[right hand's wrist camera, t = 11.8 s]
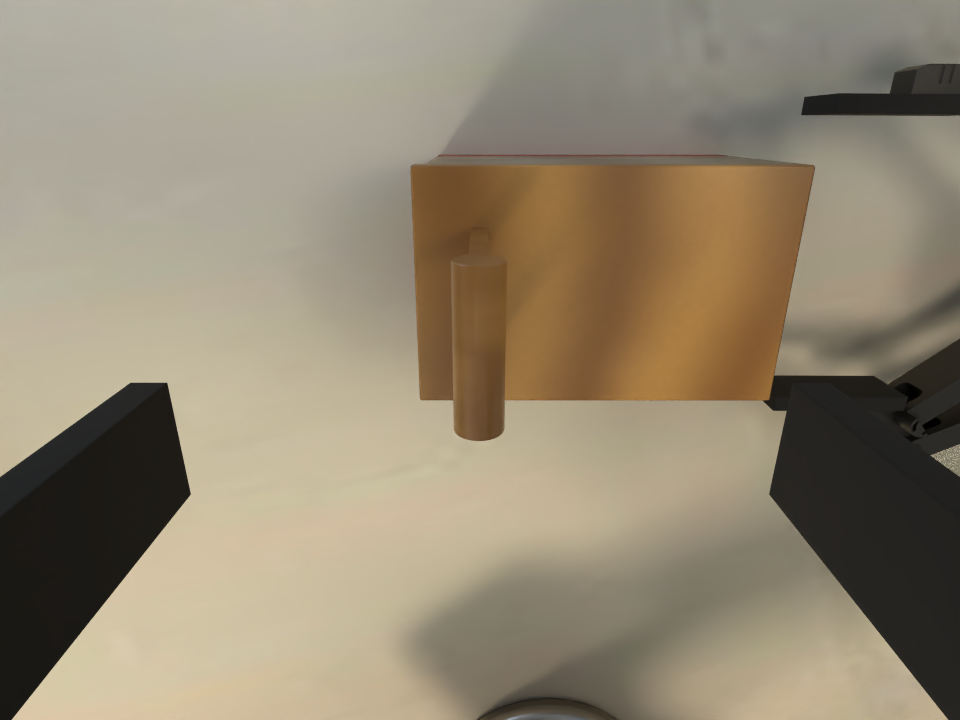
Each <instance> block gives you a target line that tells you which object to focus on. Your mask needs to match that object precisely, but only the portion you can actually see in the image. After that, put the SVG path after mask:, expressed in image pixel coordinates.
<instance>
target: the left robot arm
mask: <svg viewBox="0 0 960 720" xmlns="http://www.w3.org/2000/svg"><path fill="white" fill-rule="evenodd" d="M801 115H896V116H951V115H960V64H927V65H920V66H913V67H907V68H905V69H902V70H900V71H897V72H895V74H894V78H893V82H892V86H891V91H890V94H851V93H838V94H829V95H819V96H809V97H805V98H804V103H803V108H802V114H801ZM793 383H830V384H832V385H833V386H834V387H836V388H837V389H839V390H840V391H841V392H843V393H844V394H845V395H847V396H848V397H850V398H851V399H852V400H854V401H855V402H857V403H858V404H859V405H861V406H862V407H863V408H865V409H866V410H868V411H869V412H870V413H872V414H873V415H874V416H876V417H877V418H879V419H880V420H881V421H883V422H884V423H886V424H887V425H888V426H890V427H891V428H892V429H894V430H895V431H897V432H898V433H899V434H901V435H902V436H904V437H905V438H906V439H908V440H909V441H910V442H912V443H913V444H915V445H916V446H917V447H919V448H920V449H922V450H923V451H924V452H926V453H927V454H928V455H932V454H935V453H937V452H940V451H942V450H945V449H948V448H950V447H953V446H956V445H958V444H960V339H959V340H957V341H956V342H954V343H953V344H951V345H949V346H948V347H946V348H945V349H943V350H942V351H940V352H938V353H937V354H935V355H934V356H932V357H931V358H929V359H927V360H926V361H924V362H923V363H921V364H920V365H918V366H916V367H915V368H913V369H912V370H910V371H909V372H907V373H905V374H904V375H902V376H901V377H899V378H897V379H896V380H894V381H893V382H891V383H890V384H888V385H887V384H886V383H884V382H883V381H881V380H879V379H878V378H876V377H875V376H774V377H773V382H772V388H771V393H770V398H769V400H763V401H764V402H765V403H766V404H767V405H768V406H769V407H770V408H771V409H772V410H773V411H787V408H788V403H789V399H790V394H791V389H792V384H793ZM480 720H615V719H614V718H613V717H611V716H610V715H608V714H606V713H605V712H603V711H601V710H599V709H596V708H594V707H591V706H589V705H586V704H582V703H578V702H573V701H568V700H559V699H539V700H530V701H524V702H519V703H515V704H511V705H508V706H505V707H502V708H500V709H498V710H495V711H493V712H491V713H490V714H488V715H486V716H484V717H483V718H481V719H480Z"/></svg>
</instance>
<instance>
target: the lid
mask: <svg viewBox="0 0 960 720" xmlns="http://www.w3.org/2000/svg"><path fill="white" fill-rule="evenodd" d="M814 170H815V166H813V165H806V164H414V165H412V166H411V191H412V216H413V240H414V264H415V289H416V313H417V338H418V362H419V386H420V399H421V400H453V404H454V431H455V433H456V434H457V435H458V436H460V437H462V438H464V439H468V440H473V441H485V440H491V439H494V438H496V437H498V436H500V435H501V434H502V433H503V431H504V415H505V400H769V398H770V393H771V388H772V382H773V377H774V372H775V367H776V362H777V357H778V352H779V347H780V342H781V337H782V332H783V327H784V322H785V317H786V312H787V307H788V302H789V296H790V291H791V286H792V281H793V276H794V271H795V266H796V261H797V256H798V251H799V246H800V241H801V236H802V231H803V226H804V221H805V215H806V210H807V205H808V200H809V195H810V190H811V185H812V180H813V175H814Z"/></svg>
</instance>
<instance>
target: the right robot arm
mask: <svg viewBox="0 0 960 720" xmlns="http://www.w3.org/2000/svg"><path fill="white" fill-rule="evenodd" d="M190 495H191V493H190V488H189V484H188V479H187V474H186V470H185V465H184V460H183V455H182V451H181V446H180V441H179V436H178V432H177V427H176V422H175V417H174V413H173V408H172V403H171V399H170V394H169V389H168V384H167V383H130V384H128V385H127V386H126V387H124V388H123V389H121V390H120V391H119V392H117V393H116V394H115V395H113V396H112V397H110V398H109V399H108V400H106V401H105V402H103V403H102V404H101V405H99V406H98V407H97V408H95V409H94V410H92V411H91V412H90V413H88V414H87V415H86V416H84V417H83V418H81V419H80V420H79V421H77V422H76V423H74V424H73V425H72V426H70V427H69V428H68V429H66V430H65V431H63V432H62V433H61V434H59V435H58V436H56V437H55V438H54V439H52V440H51V441H50V442H48V443H47V444H45V445H44V446H43V447H41V448H40V449H38V450H37V451H36V452H34V453H33V454H32V455H30V456H29V457H27V458H26V459H25V460H23V461H22V462H20V463H19V464H18V465H16V466H15V467H14V468H12V469H11V470H9V471H8V472H7V473H5V474H4V475H2V476H1V477H0V720H12V719H13V717H14V716H15V715H16V714H17V712H18V711H19V710H20V708H21V707H22V706H23V705H24V703H25V702H26V701H27V700H28V698H29V697H30V696H31V695H32V693H33V692H34V691H35V690H36V688H37V687H38V686H39V685H40V683H41V682H42V681H43V680H44V678H45V677H46V676H47V675H48V673H49V672H50V671H51V669H52V668H53V667H54V666H55V664H56V663H57V662H58V661H59V659H60V658H61V657H62V656H63V654H64V653H65V652H66V651H67V649H68V648H69V647H70V646H71V644H72V643H73V642H74V641H75V639H76V638H77V637H78V636H79V634H80V633H81V632H82V630H83V629H84V628H85V627H86V625H87V624H88V623H89V622H90V620H91V619H92V618H93V617H94V615H95V614H96V613H97V612H98V610H99V609H100V608H101V607H102V605H103V604H104V603H105V602H106V600H107V599H108V598H109V597H110V595H111V594H112V593H113V591H114V590H115V589H116V588H117V586H118V585H119V584H120V583H121V581H122V580H123V579H124V578H125V576H126V575H127V574H128V573H129V571H130V570H131V569H132V568H133V566H134V565H135V564H136V563H137V561H138V560H139V559H140V558H141V556H142V555H143V554H144V552H145V551H146V550H147V549H148V547H149V546H150V545H151V544H152V542H153V541H154V540H155V539H156V537H157V536H158V535H159V534H160V532H161V531H162V530H163V529H164V527H165V526H166V525H167V524H168V522H169V521H170V520H171V519H172V517H173V516H174V515H175V513H176V512H177V511H178V510H179V508H180V507H181V506H182V505H183V503H184V502H185V501H186V500H187V498H188V497H189V496H190ZM769 495H770V496H771V497H772V498H773V500H774V501H775V502H776V503H777V505H778V506H779V507H780V508H781V510H782V511H783V512H784V513H785V515H786V516H787V517H788V519H789V520H790V521H791V522H792V524H793V525H794V526H795V527H796V529H797V530H798V531H799V532H800V534H801V535H802V536H803V537H804V539H805V540H806V541H807V542H808V544H809V545H810V546H811V547H812V549H813V550H814V551H815V552H816V554H817V555H818V556H819V558H820V559H821V560H822V561H823V563H824V564H825V565H826V566H827V568H828V569H829V570H830V571H831V573H832V574H833V575H834V576H835V578H836V579H837V580H838V581H839V583H840V584H841V585H842V586H843V588H844V589H845V590H846V591H847V593H848V594H849V595H850V597H851V598H852V599H853V600H854V602H855V603H856V604H857V605H858V607H859V608H860V609H861V610H862V612H863V613H864V614H865V615H866V617H867V618H868V619H869V620H870V622H871V623H872V624H873V625H874V627H875V628H876V629H877V630H878V632H879V633H880V634H881V636H882V637H883V638H884V639H885V641H886V642H887V643H888V644H889V646H890V647H891V648H892V649H893V651H894V652H895V653H896V654H897V656H898V657H899V658H900V659H901V661H902V662H903V663H904V664H905V666H906V667H907V668H908V669H909V671H910V672H911V673H912V675H913V676H914V677H915V678H916V680H917V681H918V682H919V683H920V685H921V686H922V687H923V688H924V690H925V691H926V692H927V693H928V695H929V696H930V697H931V698H932V700H933V701H934V702H935V703H936V705H937V706H938V707H939V708H940V710H941V711H942V712H943V714H944V715H945V716H946V717H947V719H948V720H960V477H959V476H958V475H956V474H955V473H953V472H952V471H951V470H949V469H948V468H946V467H945V466H944V465H942V464H941V463H940V462H938V461H937V460H935V459H934V458H933V457H931V456H930V455H928V454H927V453H926V452H924V451H923V450H922V449H920V448H919V447H917V446H916V445H915V444H913V443H912V442H910V441H909V440H908V439H906V438H905V437H904V436H902V435H901V434H899V433H898V432H897V431H895V430H894V429H892V428H891V427H890V426H888V425H887V424H886V423H884V422H883V421H881V420H880V419H879V418H877V417H876V416H874V415H873V414H872V413H870V412H869V411H868V410H866V409H865V408H863V407H862V406H861V405H859V404H858V403H857V402H855V401H854V400H852V399H851V398H850V397H848V396H847V395H845V394H844V393H843V392H841V391H840V390H839V389H837V388H836V387H834V386H833V385H832V384H830V383H793V384H792V389H791V394H790V399H789V403H788V408H787V413H786V417H785V422H784V427H783V432H782V436H781V441H780V446H779V451H778V455H777V460H776V465H775V470H774V474H773V479H772V484H771V488H770V493H769Z"/></svg>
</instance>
